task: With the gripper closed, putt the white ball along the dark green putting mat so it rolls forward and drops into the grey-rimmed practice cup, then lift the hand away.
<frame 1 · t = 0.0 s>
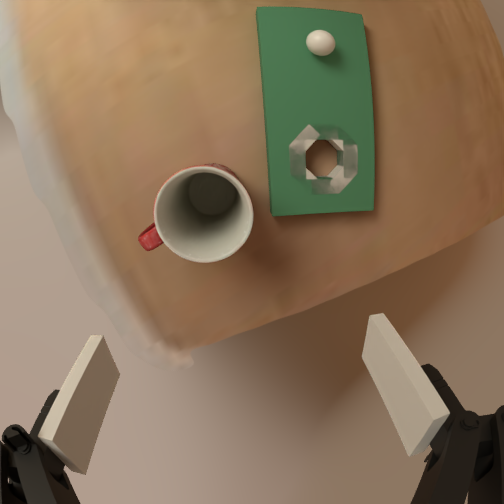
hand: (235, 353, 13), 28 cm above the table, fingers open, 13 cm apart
ball: (320, 42, 28), point 4 cm above the table, touching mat
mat: (316, 106, 35), on the table
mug: (201, 195, 39), on the table
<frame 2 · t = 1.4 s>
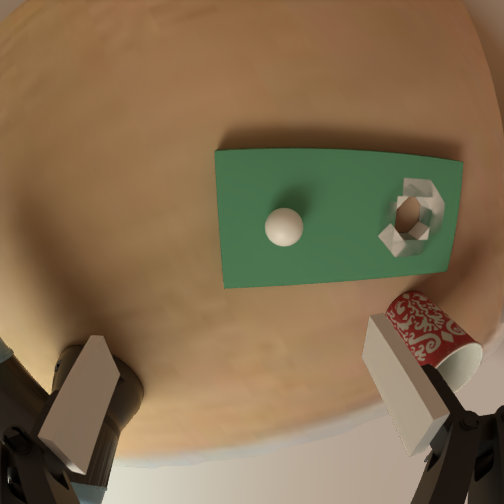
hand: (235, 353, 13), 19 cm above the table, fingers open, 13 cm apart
ball: (284, 227, 27), point 4 cm above the table, touching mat
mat: (350, 213, 31), on the table
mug: (405, 320, 38), on the table
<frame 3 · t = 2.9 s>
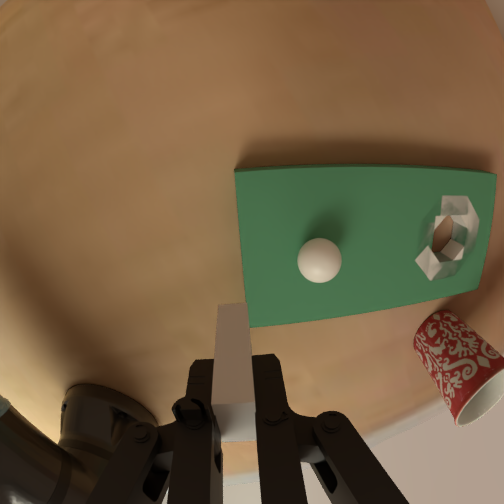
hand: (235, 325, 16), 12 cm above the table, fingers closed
ball: (319, 260, 23), point 4 cm above the table, touching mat
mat: (384, 235, 27), on the table
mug: (433, 339, 34), on the table
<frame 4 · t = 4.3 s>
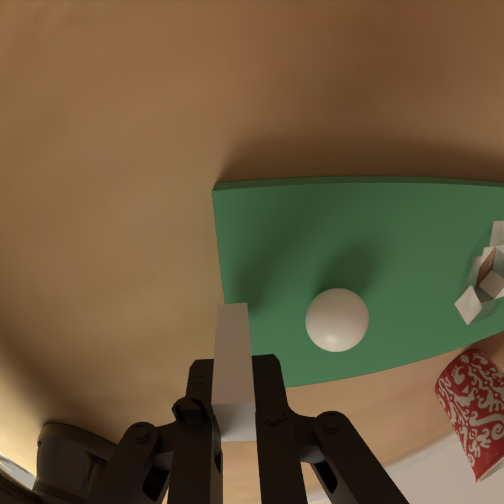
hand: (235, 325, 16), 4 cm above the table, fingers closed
ball: (337, 320, 15), point 4 cm above the table, touching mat
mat: (418, 271, 19), on the table
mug: (456, 379, 26), on the table
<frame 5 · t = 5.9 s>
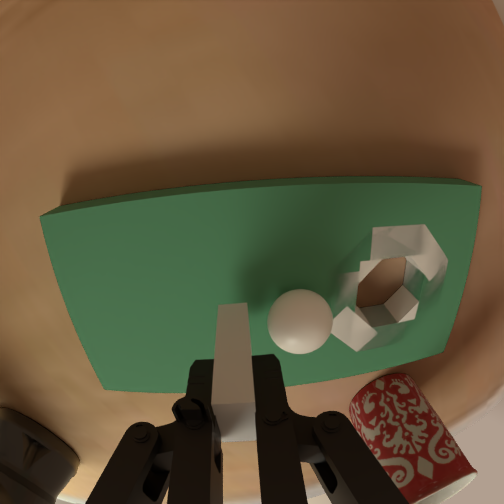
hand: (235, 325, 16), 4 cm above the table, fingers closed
ball: (300, 321, 15), point 4 cm above the table, tilted 81°, touching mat
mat: (278, 286, 19), on the table
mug: (381, 404, 26), on the table
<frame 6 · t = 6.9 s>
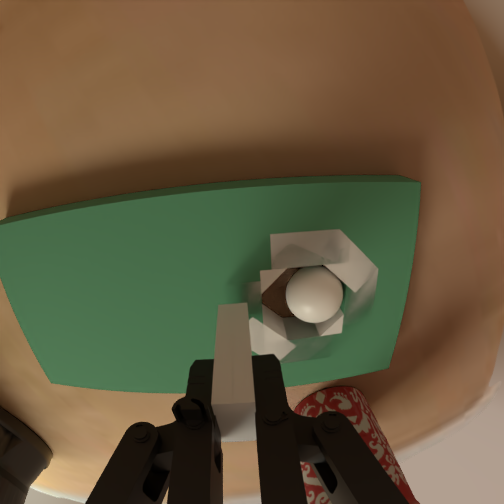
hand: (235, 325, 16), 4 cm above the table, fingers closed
ball: (314, 294, 18), point 2 cm above the table, tilted 179°
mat: (190, 293, 19), on the table
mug: (331, 416, 26), on the table
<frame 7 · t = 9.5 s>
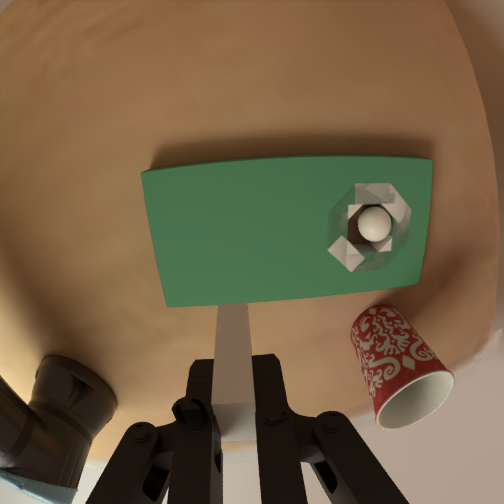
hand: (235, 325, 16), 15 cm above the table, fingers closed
ball: (374, 223, 28), point 2 cm above the table, tilted 178°
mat: (297, 225, 29), on the table
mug: (376, 335, 36), on the table
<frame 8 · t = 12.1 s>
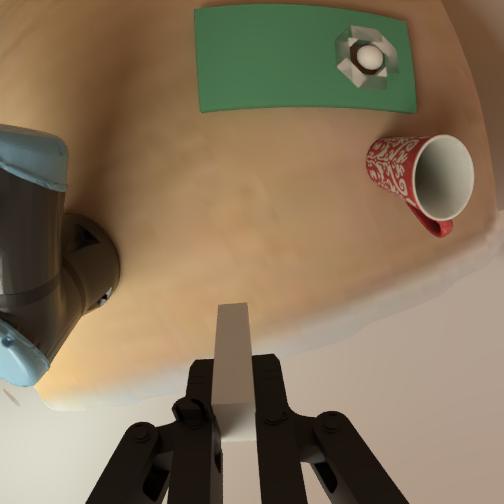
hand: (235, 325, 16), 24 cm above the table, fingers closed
ball: (370, 57, 29), point 2 cm above the table, tilted 177°
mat: (310, 56, 31), on the table
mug: (390, 174, 37), on the table
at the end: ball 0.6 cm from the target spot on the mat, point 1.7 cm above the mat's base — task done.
